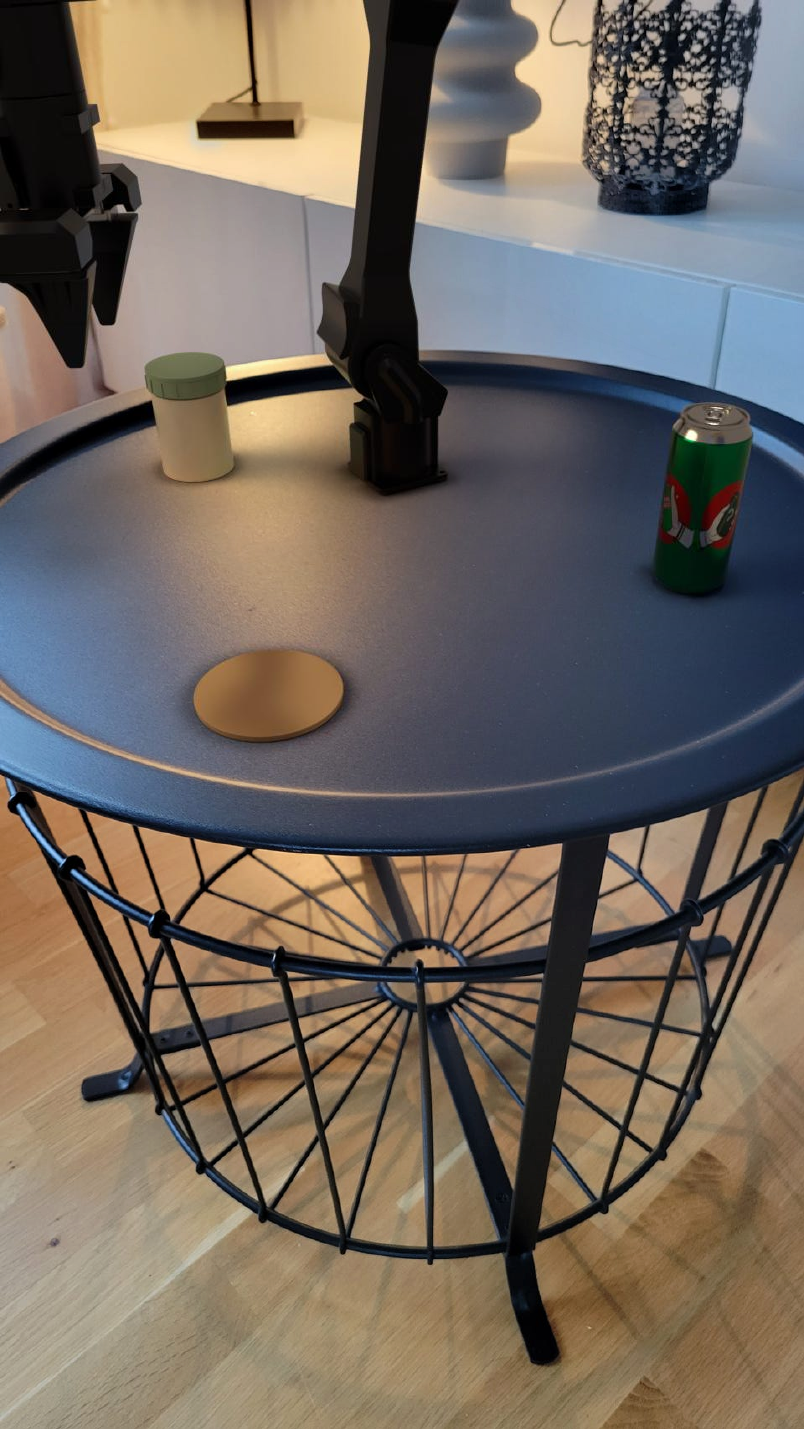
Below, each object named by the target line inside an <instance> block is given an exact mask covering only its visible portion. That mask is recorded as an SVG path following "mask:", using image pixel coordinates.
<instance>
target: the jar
mask: <svg viewBox="0 0 804 1429" xmlns="http://www.w3.org/2000/svg"><path fill="white" fill-rule="evenodd" d="M150 396H151V402H152V407H153V414H154V421H155V427H156V433H157V439H158V446H159V452H160V457H161V464H162V470H163V473H164V475H165V476H166V477H168V478H169V479H172V480H174V481H177V482H183V483H186V482H187V483H199V482H207V481H213V480H216V479H219V478H221V477H224V476H226V475H227V474H229V473H230V472H231V471H232V470H233V469H234V467H235V466H234V465H235V463H234V455H233V445H232V437H231V429H230V428H231V427H230V421H229V413H228V404H227V395H226V386H225V387H224V388H222V389H221V390H219V391H218V392H215V393H213V394H210V395H206V396H202V397H197V398H189V399H170V398H163V397H159V396H156V395H154V394H152V393H150Z"/></svg>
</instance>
